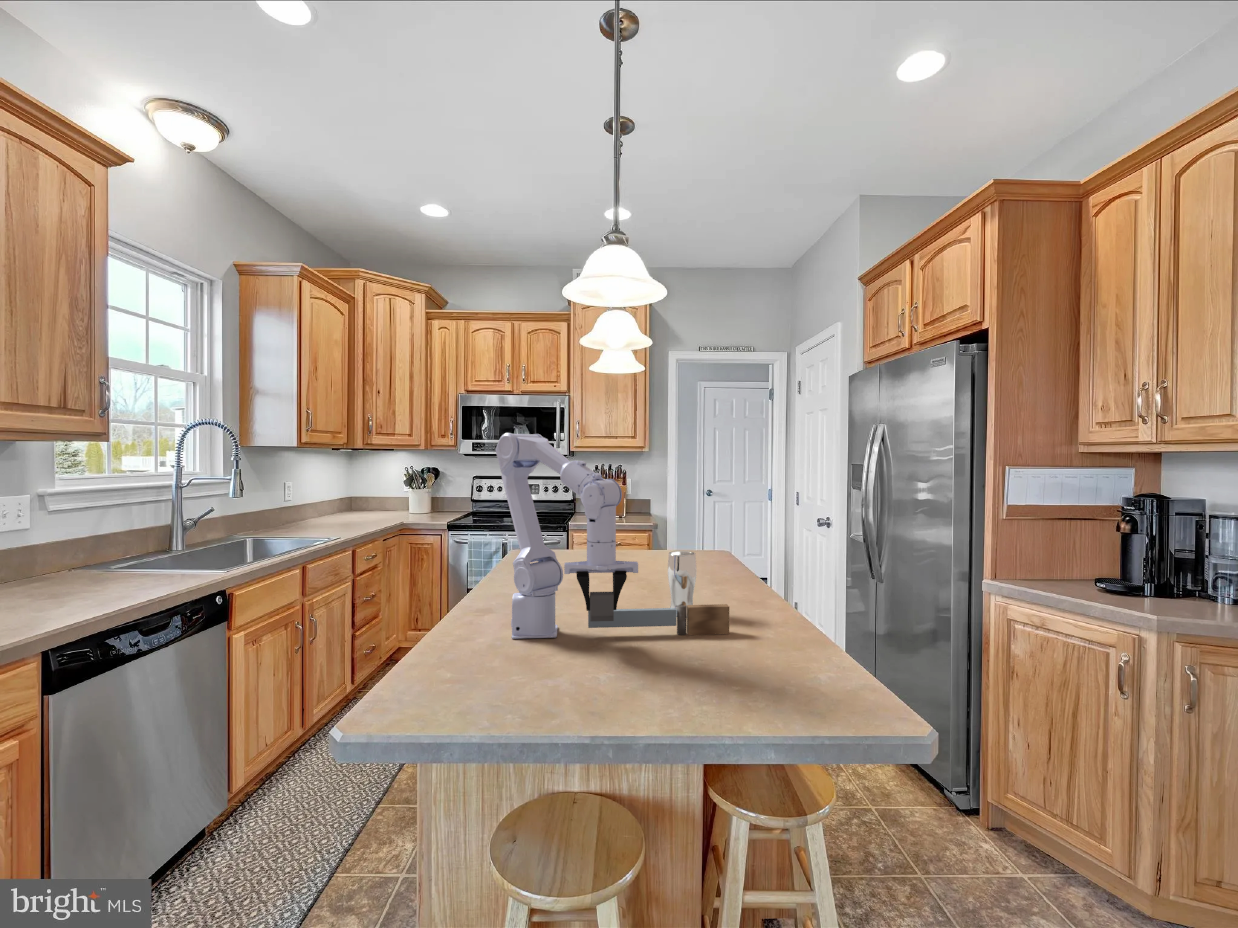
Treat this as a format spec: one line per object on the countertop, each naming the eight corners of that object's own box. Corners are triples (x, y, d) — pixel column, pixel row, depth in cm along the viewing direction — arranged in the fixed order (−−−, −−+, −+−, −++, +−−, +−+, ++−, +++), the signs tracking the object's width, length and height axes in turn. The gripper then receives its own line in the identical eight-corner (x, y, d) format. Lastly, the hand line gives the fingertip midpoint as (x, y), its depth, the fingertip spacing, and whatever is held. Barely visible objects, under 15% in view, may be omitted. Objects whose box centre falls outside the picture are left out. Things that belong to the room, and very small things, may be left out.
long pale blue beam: (588, 627, 122) (588, 611, 122) (588, 625, 124) (588, 609, 124) (676, 625, 124) (676, 609, 124) (675, 623, 126) (675, 607, 126)
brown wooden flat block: (677, 635, 124) (678, 607, 124) (676, 632, 126) (676, 605, 126) (729, 633, 125) (729, 606, 125) (726, 631, 127) (726, 604, 127)
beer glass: (697, 618, 137) (698, 555, 136) (668, 618, 137) (668, 555, 136) (694, 610, 144) (694, 550, 143) (666, 610, 144) (666, 550, 143)
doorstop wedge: (613, 620, 111) (613, 595, 111) (590, 621, 111) (590, 595, 110) (610, 607, 121) (610, 583, 121) (588, 607, 120) (589, 584, 120)
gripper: (564, 544, 109) (564, 615, 109) (640, 543, 110) (640, 613, 110) (564, 538, 116) (564, 605, 116) (636, 538, 117) (635, 604, 117)
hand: (601, 609), depth 114 cm, fingers closed on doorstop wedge, 4 cm apart
